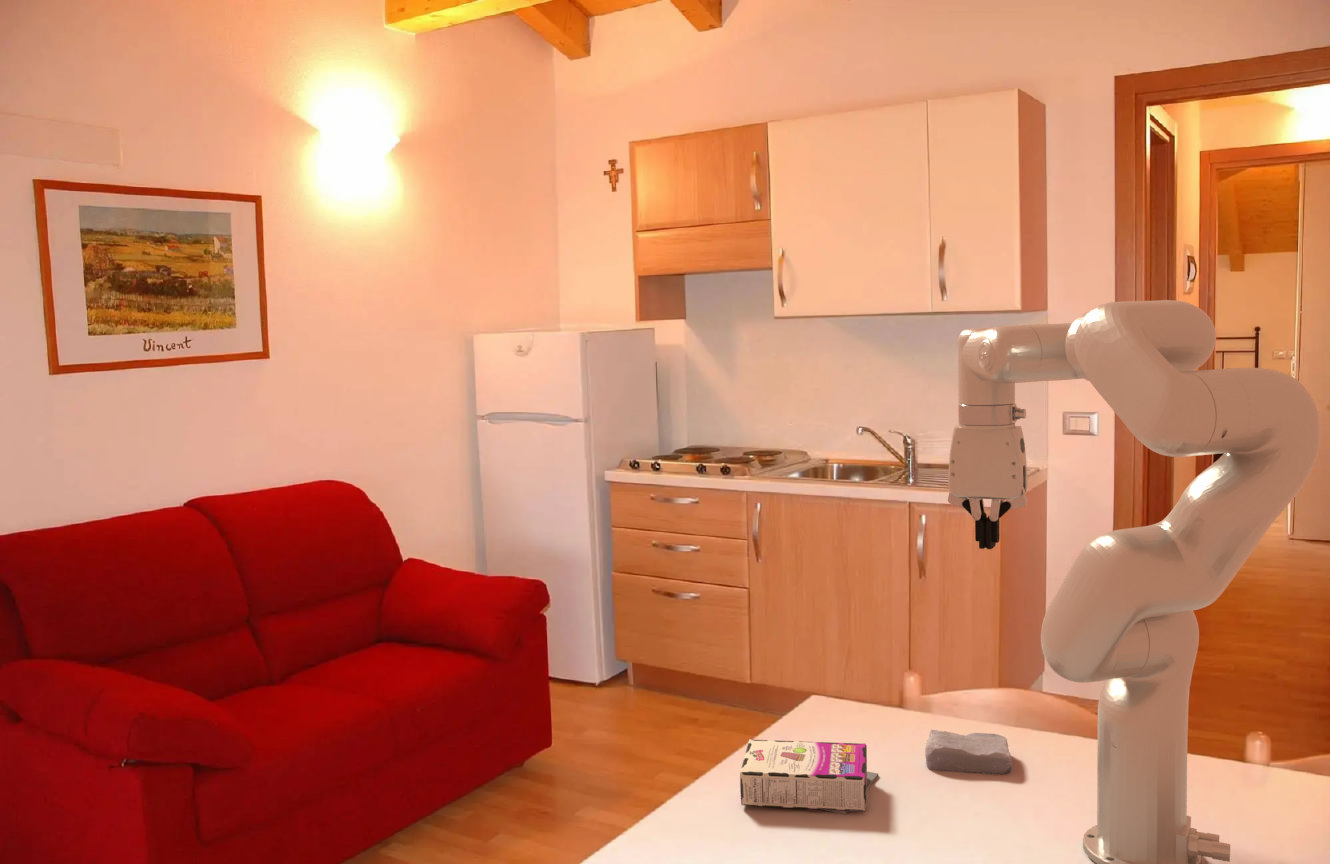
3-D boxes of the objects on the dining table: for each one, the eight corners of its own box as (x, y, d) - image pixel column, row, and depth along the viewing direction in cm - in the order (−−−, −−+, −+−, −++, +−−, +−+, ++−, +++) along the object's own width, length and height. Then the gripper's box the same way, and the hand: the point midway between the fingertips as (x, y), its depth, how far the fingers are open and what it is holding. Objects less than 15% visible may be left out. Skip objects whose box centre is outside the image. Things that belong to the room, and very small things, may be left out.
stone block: (924, 758, 160) (924, 772, 151) (925, 725, 161) (925, 737, 151) (1008, 766, 158) (1013, 781, 148) (1009, 732, 158) (1013, 745, 148)
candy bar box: (867, 777, 149) (749, 770, 152) (867, 742, 148) (748, 736, 152) (866, 815, 138) (739, 806, 141) (866, 777, 137) (738, 770, 141)
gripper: (1048, 415, 149) (1048, 545, 150) (940, 414, 156) (941, 538, 158) (1037, 420, 142) (1037, 556, 144) (925, 418, 149) (927, 548, 151)
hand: (987, 547), depth 151 cm, fingers closed
